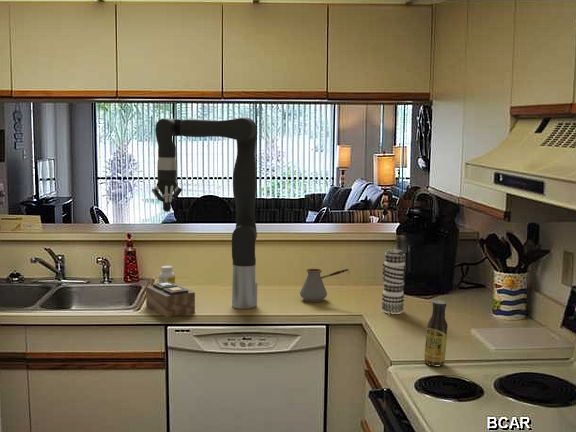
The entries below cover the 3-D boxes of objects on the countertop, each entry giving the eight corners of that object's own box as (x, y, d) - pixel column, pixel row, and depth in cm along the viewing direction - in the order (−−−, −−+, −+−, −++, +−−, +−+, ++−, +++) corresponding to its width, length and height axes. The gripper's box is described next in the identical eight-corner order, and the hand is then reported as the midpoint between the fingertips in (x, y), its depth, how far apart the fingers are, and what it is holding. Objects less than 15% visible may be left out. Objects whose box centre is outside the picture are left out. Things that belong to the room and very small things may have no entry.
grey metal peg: (167, 302, 268) (167, 282, 267) (171, 304, 265) (171, 284, 264) (158, 303, 266) (158, 283, 265) (162, 305, 262) (162, 285, 261)
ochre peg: (177, 307, 261) (177, 287, 260) (182, 309, 258) (182, 289, 257) (168, 308, 258) (168, 288, 257) (173, 311, 255) (173, 290, 254)
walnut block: (173, 302, 272) (173, 280, 271) (194, 312, 258) (194, 289, 257) (146, 306, 265) (146, 284, 264) (166, 317, 251) (166, 293, 250)
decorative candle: (403, 316, 260) (406, 252, 257) (379, 314, 262) (382, 251, 259) (405, 310, 269) (407, 248, 266) (381, 308, 271) (384, 247, 268)
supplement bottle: (176, 295, 285) (177, 265, 283) (172, 298, 278) (172, 268, 276) (161, 294, 285) (161, 264, 284) (157, 298, 279) (156, 267, 277)
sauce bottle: (420, 364, 207) (423, 301, 204) (429, 359, 212) (432, 298, 209) (440, 369, 203) (443, 305, 200) (448, 363, 208) (452, 301, 205)
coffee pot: (295, 301, 279) (296, 266, 277) (306, 295, 289) (307, 261, 287) (343, 308, 270) (344, 271, 268) (352, 301, 280) (354, 266, 278)
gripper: (155, 169, 261) (155, 213, 263) (186, 169, 269) (185, 211, 271) (147, 168, 267) (147, 211, 269) (177, 167, 275) (177, 209, 277)
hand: (166, 211), depth 270 cm, fingers closed
